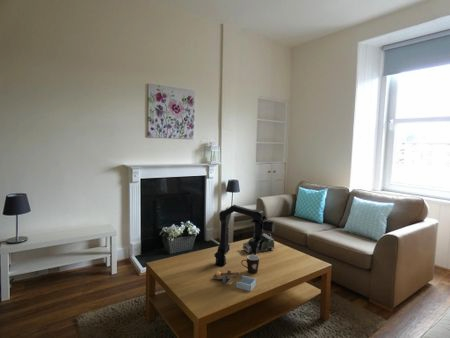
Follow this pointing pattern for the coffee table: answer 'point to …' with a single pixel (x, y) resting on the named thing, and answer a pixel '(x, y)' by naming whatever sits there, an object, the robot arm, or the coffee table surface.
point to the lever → (228, 276)
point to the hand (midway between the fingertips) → (257, 252)
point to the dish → (246, 283)
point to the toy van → (265, 247)
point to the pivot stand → (225, 278)
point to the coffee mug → (252, 263)
